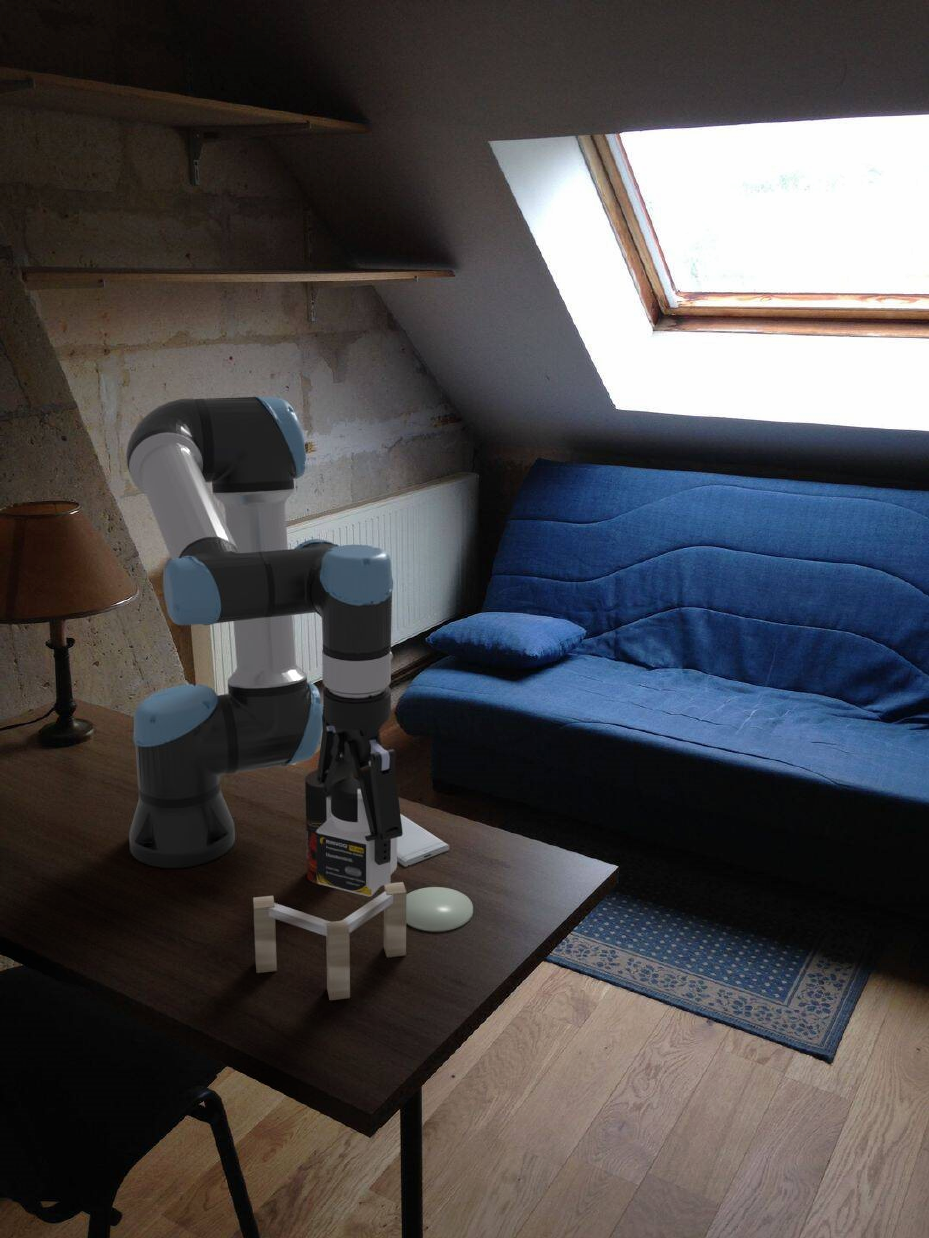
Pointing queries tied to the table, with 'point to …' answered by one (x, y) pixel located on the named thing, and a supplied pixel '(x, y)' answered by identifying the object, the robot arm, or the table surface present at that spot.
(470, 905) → the pad
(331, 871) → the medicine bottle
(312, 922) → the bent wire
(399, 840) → the hard drive
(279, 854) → the table surface
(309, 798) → the deodorant
